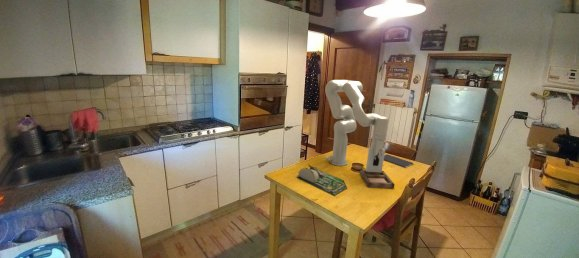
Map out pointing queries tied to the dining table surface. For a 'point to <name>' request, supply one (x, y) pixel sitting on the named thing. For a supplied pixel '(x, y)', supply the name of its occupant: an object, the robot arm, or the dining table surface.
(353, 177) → the dining table surface
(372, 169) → the acrylic panel
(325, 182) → the green board with half-disc
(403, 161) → the notebook
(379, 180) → the offcut top
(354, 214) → the dining table surface
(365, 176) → the brown wooden tray
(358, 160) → the dining table surface
